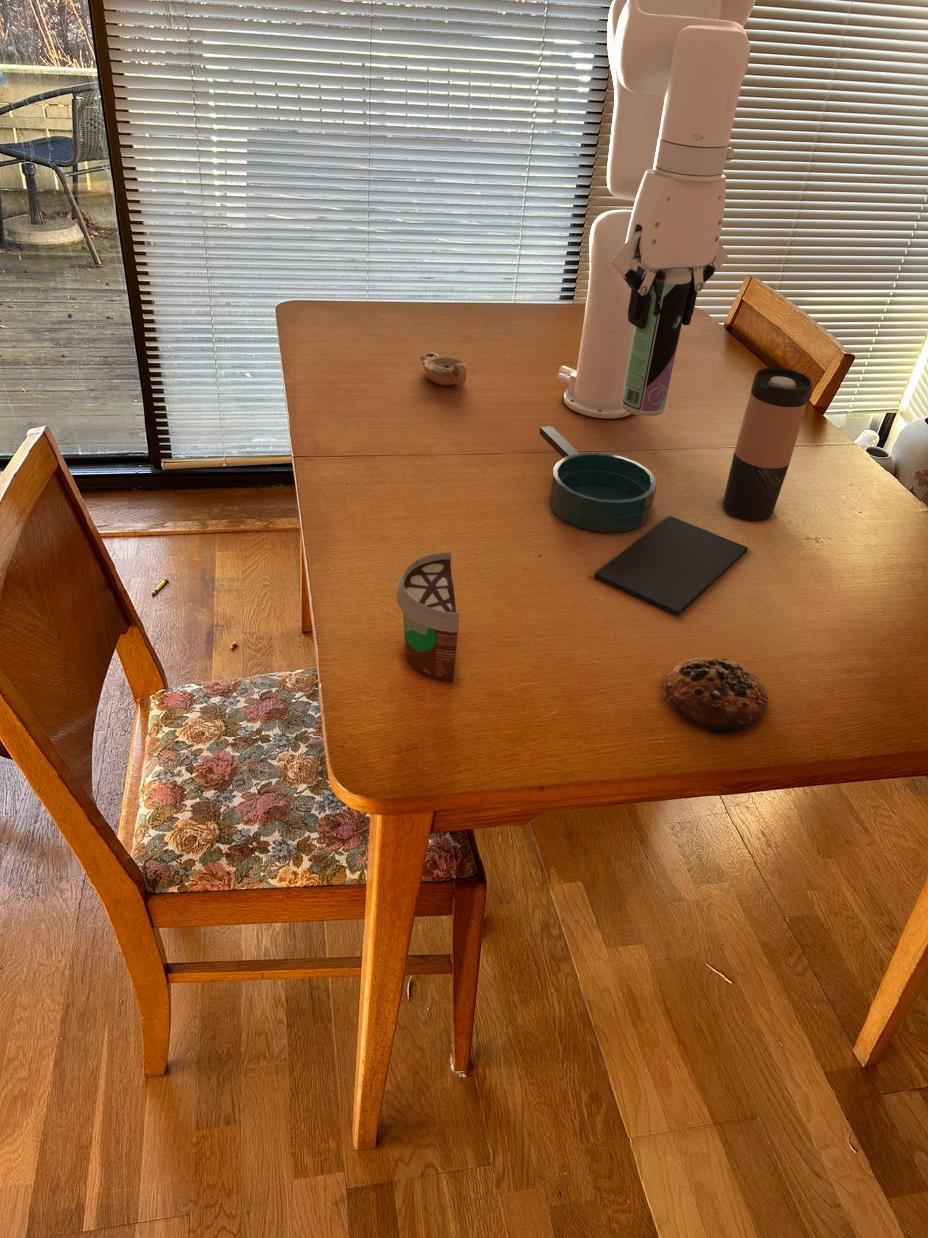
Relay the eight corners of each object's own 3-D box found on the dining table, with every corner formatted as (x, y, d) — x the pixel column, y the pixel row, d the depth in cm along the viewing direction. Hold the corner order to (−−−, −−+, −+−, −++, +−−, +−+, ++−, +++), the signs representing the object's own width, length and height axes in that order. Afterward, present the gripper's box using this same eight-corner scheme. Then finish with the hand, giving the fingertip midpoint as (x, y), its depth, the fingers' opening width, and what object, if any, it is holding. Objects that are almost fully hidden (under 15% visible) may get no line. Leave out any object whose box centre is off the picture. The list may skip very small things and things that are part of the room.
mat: (593, 578, 118) (594, 573, 118) (668, 520, 131) (669, 515, 131) (677, 617, 113) (679, 611, 112) (747, 552, 126) (748, 547, 125)
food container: (393, 621, 108) (395, 549, 102) (446, 621, 109) (451, 549, 103) (396, 692, 99) (398, 616, 93) (454, 691, 99) (459, 616, 93)
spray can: (663, 419, 117) (697, 254, 105) (619, 412, 117) (648, 248, 105) (664, 402, 121) (697, 241, 109) (622, 395, 122) (650, 236, 110)
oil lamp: (410, 369, 169) (411, 342, 166) (447, 364, 172) (448, 338, 169) (442, 398, 160) (443, 370, 157) (480, 392, 163) (482, 365, 160)
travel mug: (775, 503, 137) (814, 373, 125) (771, 527, 131) (812, 394, 119) (723, 491, 139) (757, 362, 127) (717, 515, 133) (752, 383, 121)
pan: (529, 507, 131) (533, 476, 128) (583, 473, 141) (588, 443, 138) (616, 546, 125) (623, 513, 122) (667, 507, 134) (674, 476, 131)
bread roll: (700, 745, 95) (709, 704, 92) (640, 689, 103) (646, 650, 101) (786, 723, 99) (796, 683, 96) (721, 671, 107) (729, 633, 105)
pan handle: (585, 467, 137) (586, 459, 136) (573, 468, 136) (574, 461, 135) (550, 432, 145) (551, 425, 144) (539, 433, 144) (539, 426, 144)
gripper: (735, 151, 107) (701, 308, 118) (604, 152, 102) (581, 317, 113) (774, 166, 102) (735, 329, 113) (639, 168, 96) (611, 339, 107)
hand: (658, 321), depth 113 cm, fingers closed on spray can, 5 cm apart
